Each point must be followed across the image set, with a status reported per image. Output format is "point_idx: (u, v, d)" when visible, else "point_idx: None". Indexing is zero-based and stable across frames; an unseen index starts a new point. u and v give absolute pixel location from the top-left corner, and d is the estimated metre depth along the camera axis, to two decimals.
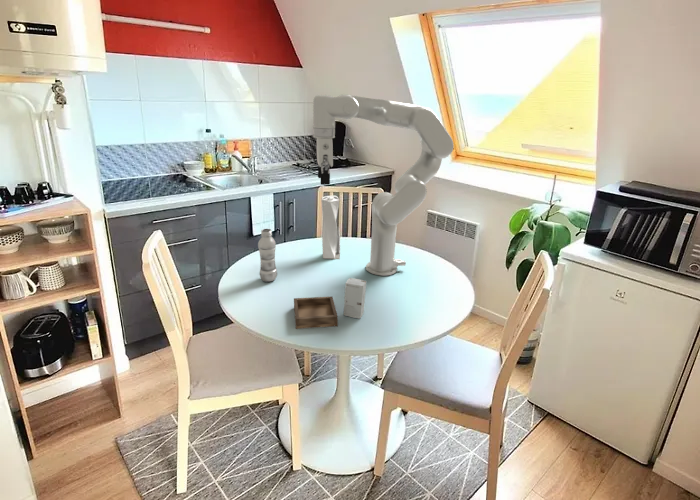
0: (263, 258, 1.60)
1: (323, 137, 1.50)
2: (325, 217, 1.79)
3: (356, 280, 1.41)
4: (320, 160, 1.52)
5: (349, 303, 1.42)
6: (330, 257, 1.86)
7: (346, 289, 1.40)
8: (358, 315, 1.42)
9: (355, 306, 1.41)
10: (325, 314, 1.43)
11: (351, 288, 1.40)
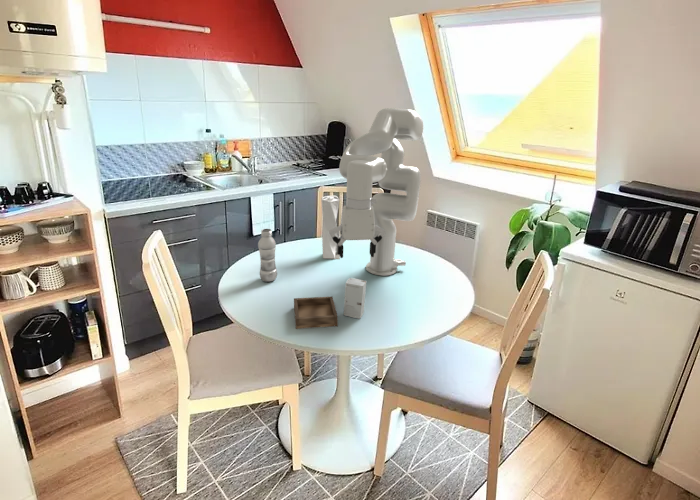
0: (263, 258, 1.60)
1: (371, 206, 1.31)
2: (325, 217, 1.79)
3: (356, 280, 1.41)
4: (374, 231, 1.33)
5: (349, 303, 1.42)
6: (330, 257, 1.86)
7: (346, 289, 1.40)
8: (358, 315, 1.42)
9: (355, 306, 1.41)
10: (325, 314, 1.43)
11: (351, 288, 1.40)
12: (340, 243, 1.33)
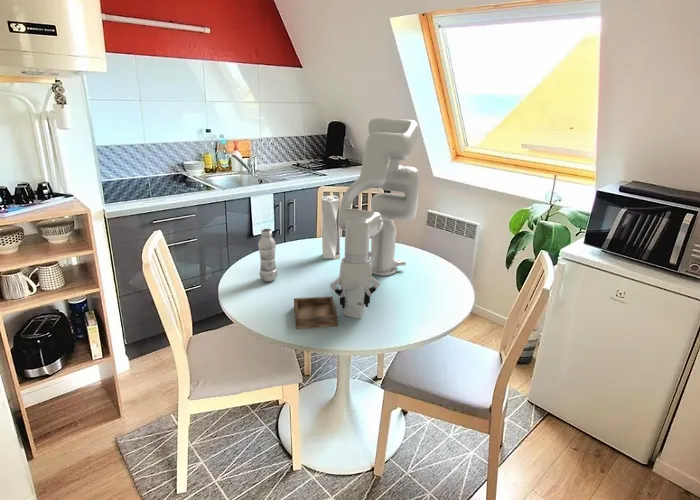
0: (263, 258, 1.60)
1: (368, 259, 1.38)
2: (325, 217, 1.79)
3: None
4: (371, 282, 1.40)
5: (349, 303, 1.42)
6: (330, 257, 1.86)
7: None
8: (358, 315, 1.42)
9: (355, 306, 1.41)
10: (325, 314, 1.43)
11: None
12: (342, 295, 1.40)
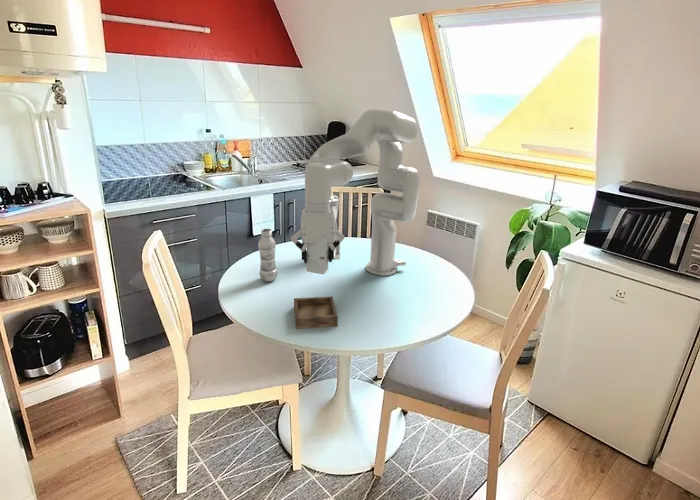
0: (263, 258, 1.60)
1: (330, 209, 1.29)
2: None
3: None
4: (334, 235, 1.31)
5: (312, 257, 1.33)
6: None
7: None
8: (321, 270, 1.34)
9: (318, 261, 1.33)
10: (325, 314, 1.43)
11: None
12: (303, 248, 1.32)
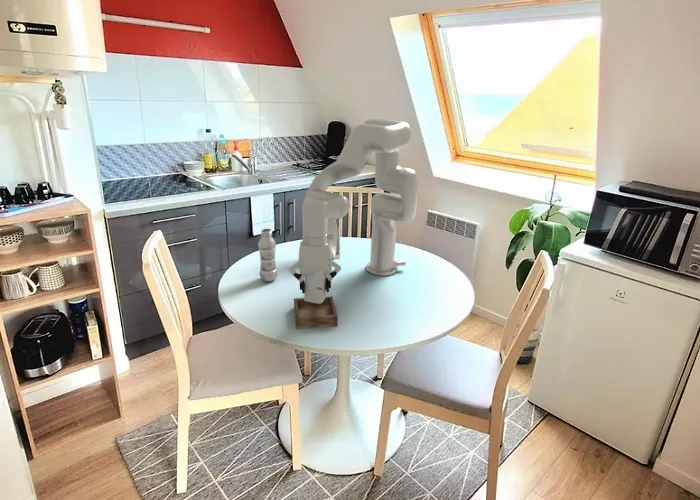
0: (263, 258, 1.60)
1: (327, 242, 1.33)
2: None
3: None
4: (331, 266, 1.35)
5: (309, 287, 1.37)
6: None
7: None
8: (319, 300, 1.38)
9: (316, 291, 1.37)
10: (325, 314, 1.43)
11: None
12: (301, 279, 1.36)
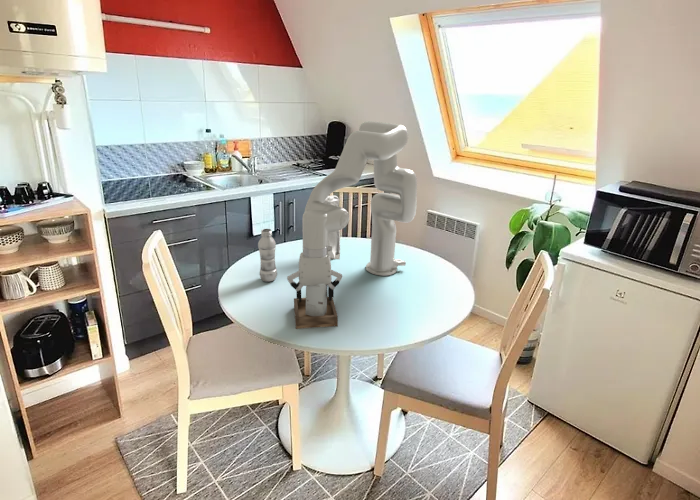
0: (263, 258, 1.60)
1: (327, 253, 1.34)
2: None
3: None
4: (331, 277, 1.37)
5: (311, 302, 1.39)
6: (330, 257, 1.86)
7: (307, 288, 1.38)
8: (320, 314, 1.40)
9: (317, 305, 1.39)
10: (325, 314, 1.43)
11: (312, 286, 1.37)
12: (298, 288, 1.37)
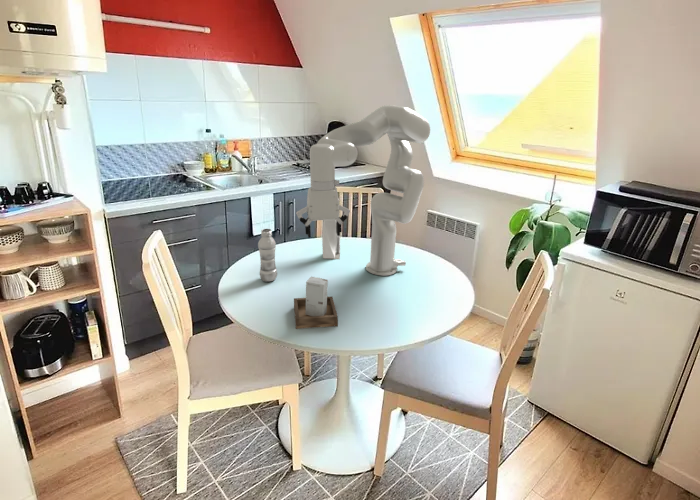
0: (263, 258, 1.60)
1: (334, 187, 1.38)
2: None
3: (317, 279, 1.39)
4: (338, 211, 1.40)
5: (311, 302, 1.39)
6: (330, 257, 1.86)
7: (307, 288, 1.38)
8: (320, 314, 1.40)
9: (317, 305, 1.39)
10: (325, 314, 1.43)
11: (312, 286, 1.37)
12: (307, 223, 1.40)
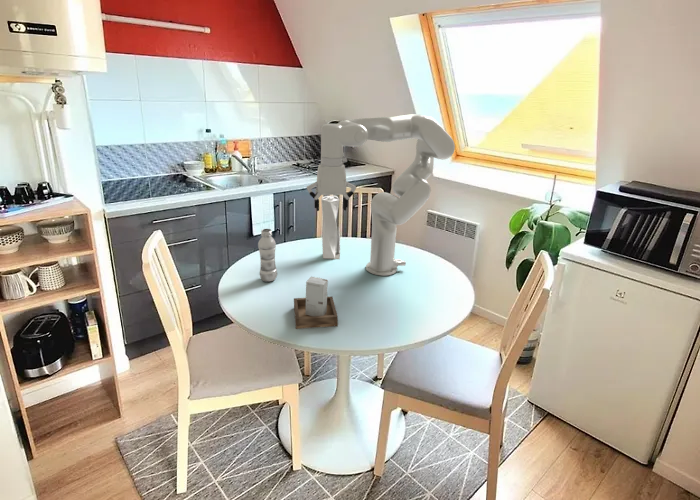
0: (263, 258, 1.60)
1: (342, 164, 1.50)
2: (325, 217, 1.79)
3: (317, 279, 1.39)
4: (345, 187, 1.52)
5: (311, 302, 1.39)
6: (330, 257, 1.86)
7: (307, 288, 1.38)
8: (320, 314, 1.40)
9: (317, 305, 1.39)
10: (325, 314, 1.43)
11: (312, 286, 1.37)
12: (316, 197, 1.52)
